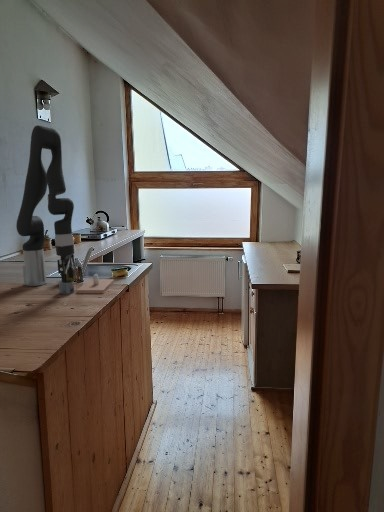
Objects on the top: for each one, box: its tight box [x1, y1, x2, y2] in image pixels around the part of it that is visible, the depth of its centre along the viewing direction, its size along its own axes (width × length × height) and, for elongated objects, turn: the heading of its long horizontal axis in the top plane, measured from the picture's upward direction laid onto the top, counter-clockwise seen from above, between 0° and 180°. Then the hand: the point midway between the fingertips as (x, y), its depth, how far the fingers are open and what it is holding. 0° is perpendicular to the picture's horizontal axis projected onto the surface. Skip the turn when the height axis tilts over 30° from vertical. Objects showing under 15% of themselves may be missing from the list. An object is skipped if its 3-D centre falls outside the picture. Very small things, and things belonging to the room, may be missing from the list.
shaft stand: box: [76, 273, 115, 294], centre depth 169 cm, size 12×19×6 cm, turn 178°
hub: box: [58, 280, 75, 295], centre depth 161 cm, size 6×6×5 cm
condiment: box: [57, 266, 76, 284], centre depth 179 cm, size 7×8×12 cm
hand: (68, 279), depth 161 cm, fingers open, 8 cm apart
